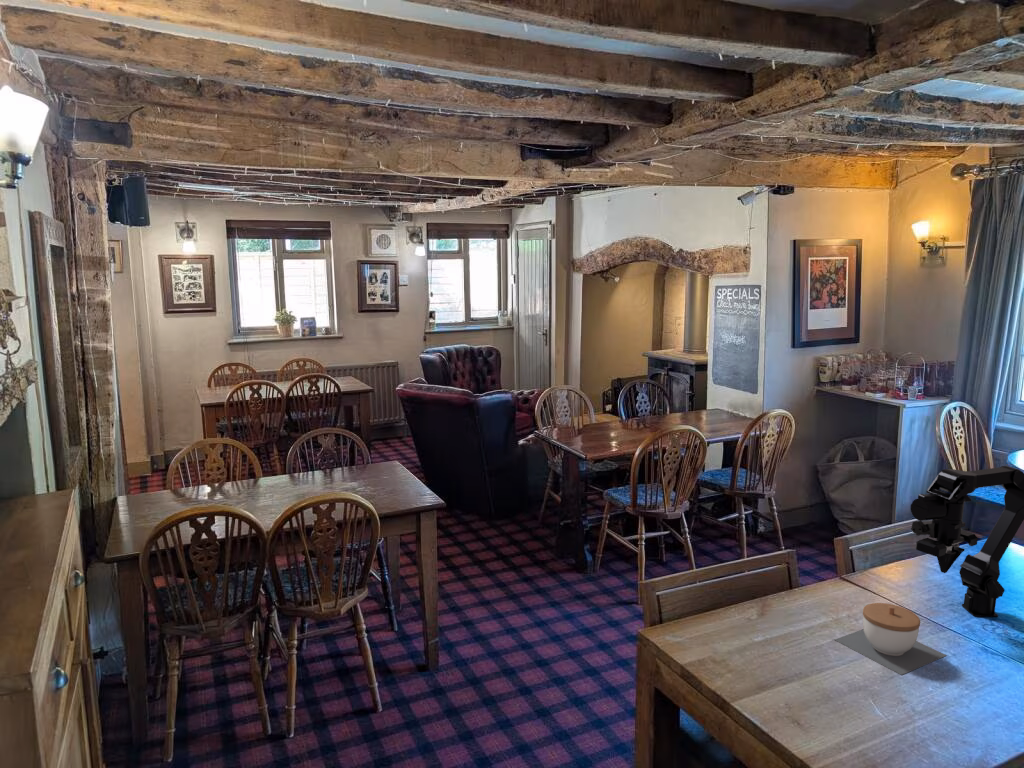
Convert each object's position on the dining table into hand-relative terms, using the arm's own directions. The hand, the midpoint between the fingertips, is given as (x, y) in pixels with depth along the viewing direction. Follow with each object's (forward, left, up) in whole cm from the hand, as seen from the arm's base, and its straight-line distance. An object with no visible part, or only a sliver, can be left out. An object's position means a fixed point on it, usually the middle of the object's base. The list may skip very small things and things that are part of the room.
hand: (943, 572), depth 192 cm
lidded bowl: (+21, +18, -13) cm, 31 cm away
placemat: (+21, +17, -13) cm, 30 cm away
